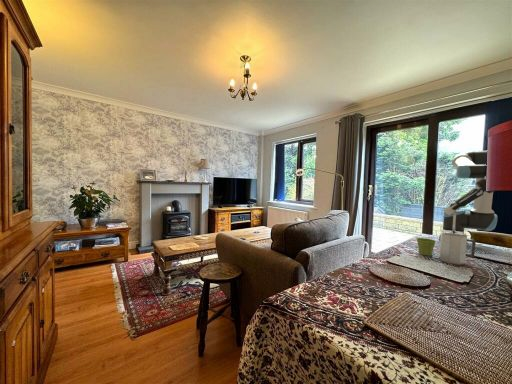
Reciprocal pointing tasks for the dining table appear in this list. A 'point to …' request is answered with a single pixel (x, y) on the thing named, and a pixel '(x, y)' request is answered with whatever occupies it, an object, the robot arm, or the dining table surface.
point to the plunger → (454, 217)
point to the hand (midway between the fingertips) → (445, 212)
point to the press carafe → (455, 247)
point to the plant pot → (425, 246)
